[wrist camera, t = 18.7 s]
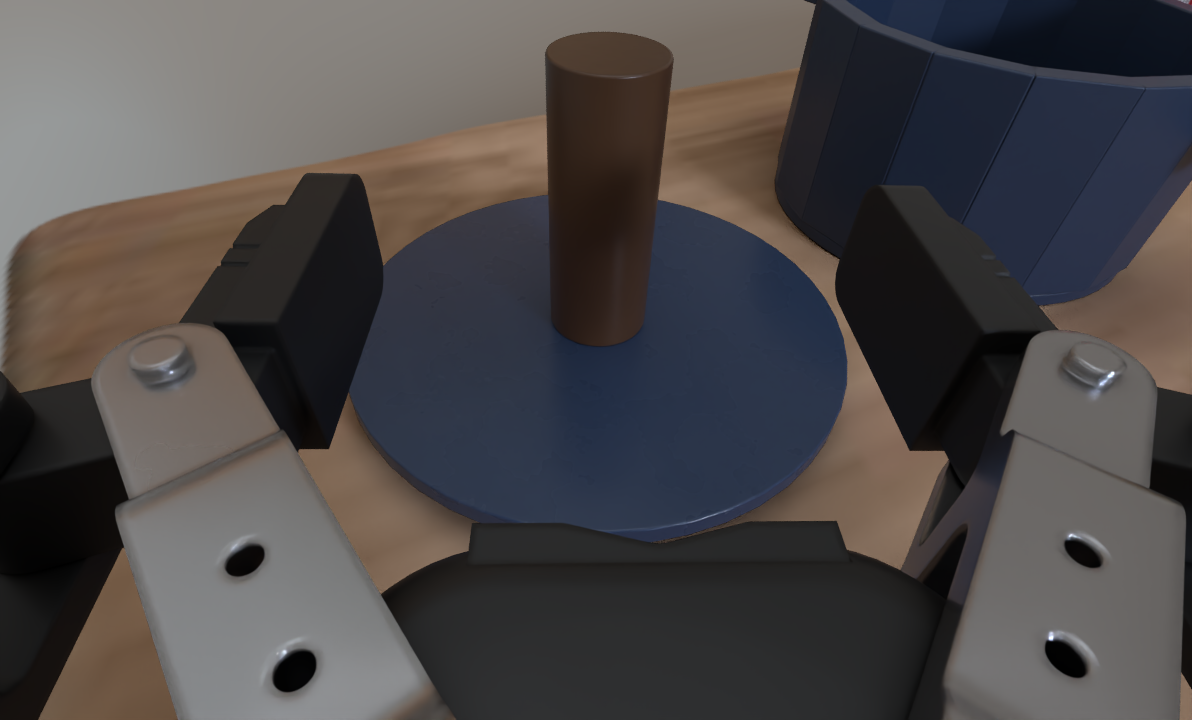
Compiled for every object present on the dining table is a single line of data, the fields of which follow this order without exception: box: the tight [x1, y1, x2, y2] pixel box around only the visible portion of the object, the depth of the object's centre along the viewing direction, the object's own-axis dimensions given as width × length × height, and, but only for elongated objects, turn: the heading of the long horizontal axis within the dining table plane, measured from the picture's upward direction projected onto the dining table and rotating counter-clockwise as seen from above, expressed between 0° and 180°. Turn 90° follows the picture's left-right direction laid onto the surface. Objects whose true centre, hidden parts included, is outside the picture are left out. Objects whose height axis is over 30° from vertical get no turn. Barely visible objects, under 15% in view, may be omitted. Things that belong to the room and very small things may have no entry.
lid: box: [349, 32, 847, 542], centre depth 17 cm, size 15×15×9 cm
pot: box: [775, 0, 1192, 305], centre depth 24 cm, size 14×19×8 cm
